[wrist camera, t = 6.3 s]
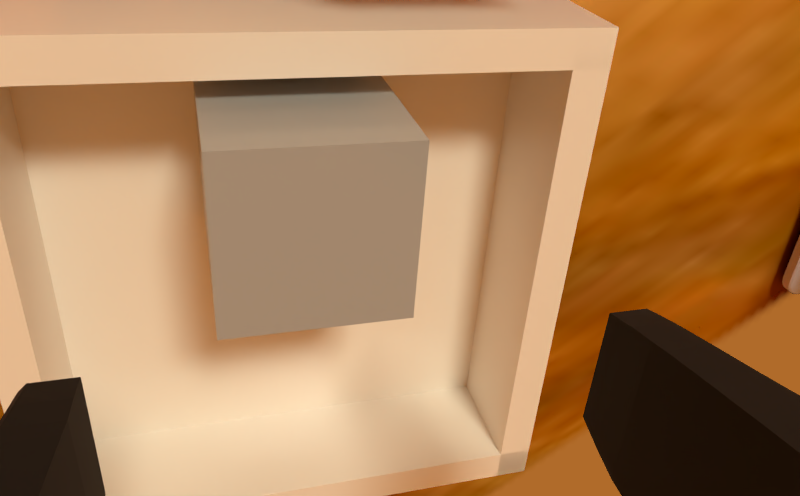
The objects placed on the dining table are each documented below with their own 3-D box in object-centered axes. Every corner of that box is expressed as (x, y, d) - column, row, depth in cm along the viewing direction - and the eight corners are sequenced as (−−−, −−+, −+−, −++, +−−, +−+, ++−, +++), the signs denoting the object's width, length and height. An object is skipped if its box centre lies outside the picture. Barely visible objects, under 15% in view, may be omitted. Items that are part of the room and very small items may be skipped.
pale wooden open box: (541, -15, 17) (618, 27, 14) (478, 385, 23) (524, 470, 20) (-52, -18, 14) (-107, 36, 11) (62, 445, 20) (46, 556, 17)
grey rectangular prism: (366, 55, 16) (429, 139, 12) (360, 205, 18) (413, 317, 14) (191, 59, 15) (201, 152, 11) (204, 216, 17) (217, 340, 13)
